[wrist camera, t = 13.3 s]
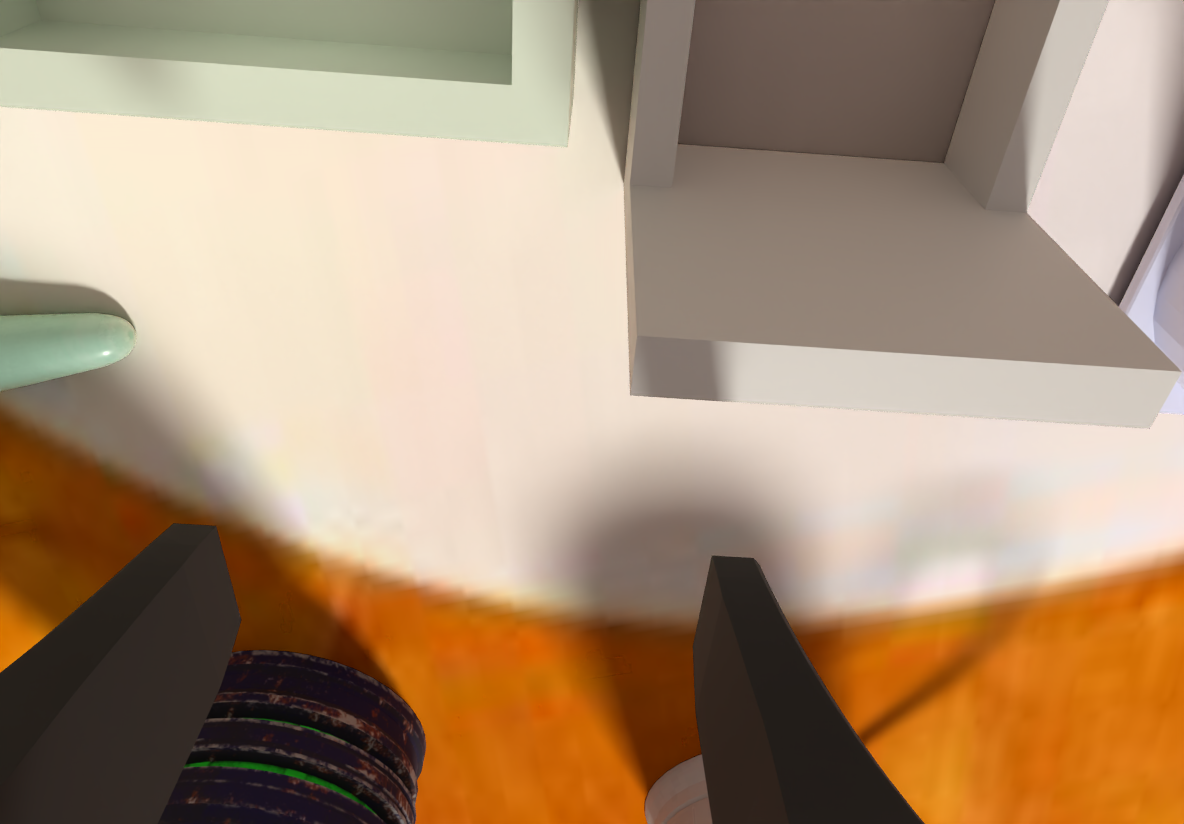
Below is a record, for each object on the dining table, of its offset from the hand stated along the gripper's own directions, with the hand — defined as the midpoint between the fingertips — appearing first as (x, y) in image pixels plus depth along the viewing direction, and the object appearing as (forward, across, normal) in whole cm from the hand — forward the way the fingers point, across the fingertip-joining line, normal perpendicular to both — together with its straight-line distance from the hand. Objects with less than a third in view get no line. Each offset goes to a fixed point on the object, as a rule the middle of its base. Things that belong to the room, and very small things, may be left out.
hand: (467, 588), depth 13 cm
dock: (+9, -6, -5) cm, 12 cm away
